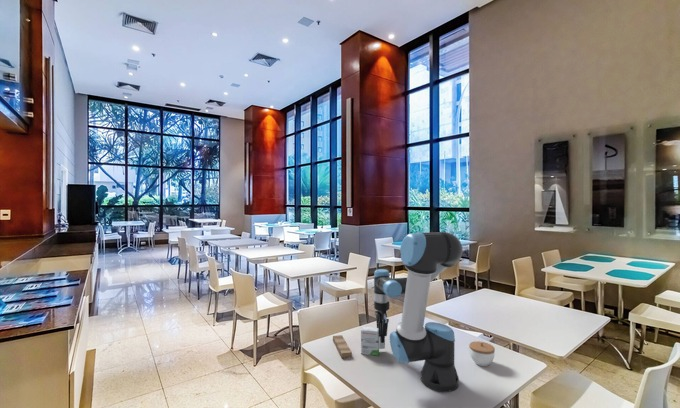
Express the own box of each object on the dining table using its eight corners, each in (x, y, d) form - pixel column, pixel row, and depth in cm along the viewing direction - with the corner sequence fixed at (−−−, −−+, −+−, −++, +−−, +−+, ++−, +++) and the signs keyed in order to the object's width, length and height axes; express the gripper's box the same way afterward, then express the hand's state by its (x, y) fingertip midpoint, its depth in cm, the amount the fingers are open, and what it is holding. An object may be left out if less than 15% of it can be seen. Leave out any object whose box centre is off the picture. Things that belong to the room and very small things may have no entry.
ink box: (379, 351, 159) (379, 327, 159) (378, 356, 154) (378, 331, 154) (362, 349, 161) (362, 326, 161) (360, 354, 157) (360, 330, 156)
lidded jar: (497, 370, 141) (497, 349, 141) (471, 367, 144) (471, 346, 144) (491, 358, 152) (491, 339, 152) (467, 356, 154) (467, 336, 154)
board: (351, 357, 153) (351, 352, 153) (341, 358, 152) (341, 353, 152) (341, 339, 173) (341, 335, 173) (332, 340, 172) (332, 336, 172)
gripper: (393, 304, 154) (393, 353, 154) (384, 296, 166) (384, 341, 167) (379, 305, 152) (379, 355, 152) (370, 297, 165) (370, 343, 165)
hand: (381, 348), depth 160 cm, fingers closed
